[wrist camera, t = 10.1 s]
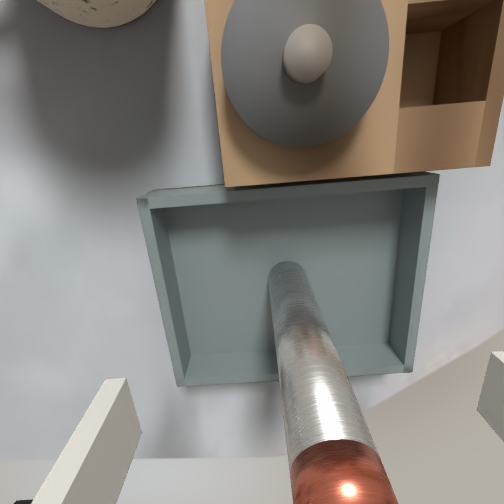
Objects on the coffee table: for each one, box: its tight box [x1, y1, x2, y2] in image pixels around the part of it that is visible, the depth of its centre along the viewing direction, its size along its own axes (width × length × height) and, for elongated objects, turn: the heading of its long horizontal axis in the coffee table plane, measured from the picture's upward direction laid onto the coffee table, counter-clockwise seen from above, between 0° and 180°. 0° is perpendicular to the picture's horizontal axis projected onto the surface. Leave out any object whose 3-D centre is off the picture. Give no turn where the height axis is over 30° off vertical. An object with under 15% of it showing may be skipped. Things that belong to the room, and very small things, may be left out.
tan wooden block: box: [204, 0, 504, 187], centre depth 13 cm, size 12×9×7 cm
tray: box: [137, 171, 440, 387], centre depth 19 cm, size 16×13×3 cm
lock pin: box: [268, 261, 398, 504], centre depth 14 cm, size 3×3×14 cm
